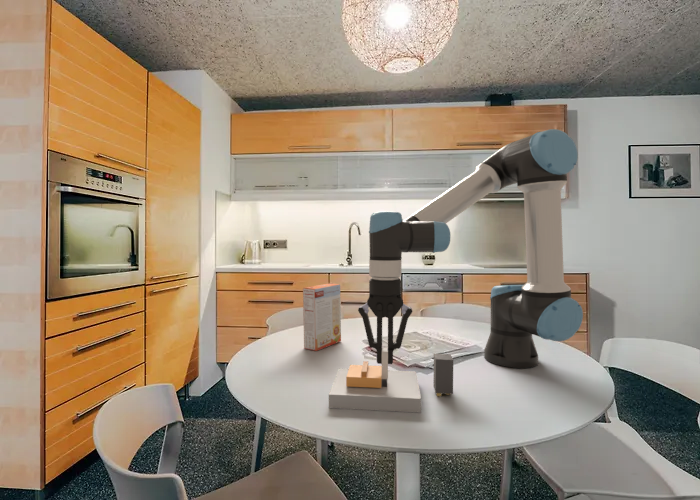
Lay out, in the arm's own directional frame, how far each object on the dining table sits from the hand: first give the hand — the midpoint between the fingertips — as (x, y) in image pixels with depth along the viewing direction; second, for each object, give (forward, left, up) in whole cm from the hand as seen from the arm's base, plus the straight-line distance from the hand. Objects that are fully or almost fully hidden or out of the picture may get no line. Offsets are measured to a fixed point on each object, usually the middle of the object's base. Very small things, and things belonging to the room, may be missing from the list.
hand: (384, 376), depth 86 cm
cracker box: (+22, -38, -5) cm, 44 cm away
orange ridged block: (+5, 0, -1) cm, 5 cm away
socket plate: (+2, 0, -4) cm, 5 cm away
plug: (-14, -2, -4) cm, 15 cm away
